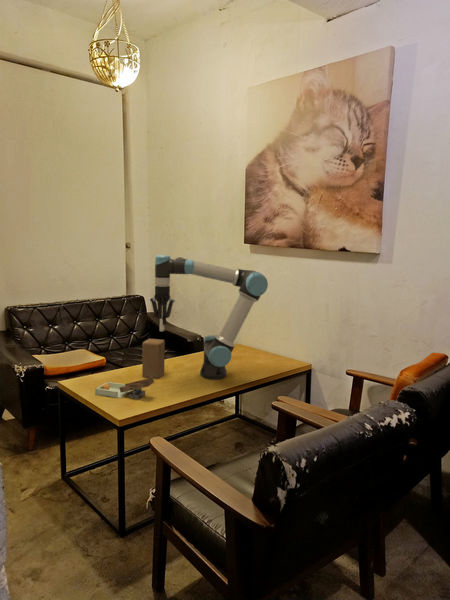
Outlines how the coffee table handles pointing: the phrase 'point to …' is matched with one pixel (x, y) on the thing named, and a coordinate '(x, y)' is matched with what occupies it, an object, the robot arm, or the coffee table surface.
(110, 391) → the tray
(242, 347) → the coffee table surface
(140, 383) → the lever
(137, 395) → the fulcrum
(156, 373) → the wooden block
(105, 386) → the ball
